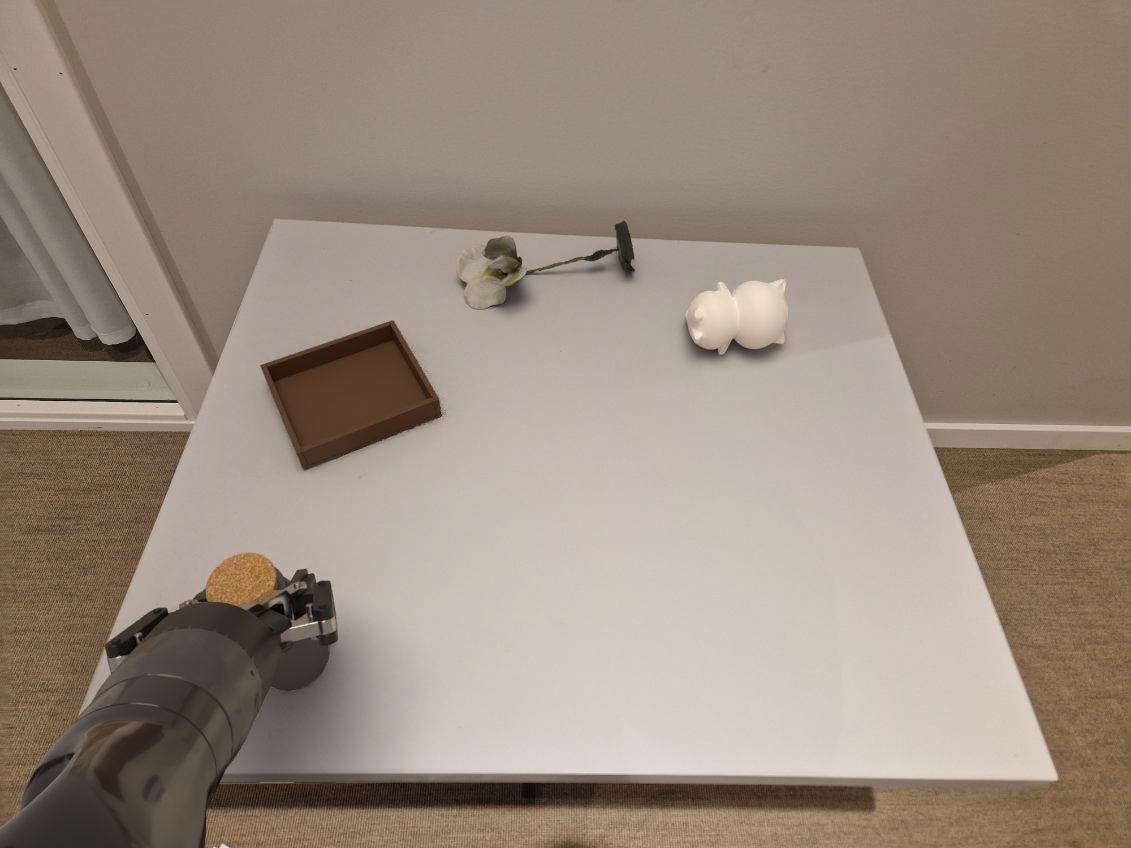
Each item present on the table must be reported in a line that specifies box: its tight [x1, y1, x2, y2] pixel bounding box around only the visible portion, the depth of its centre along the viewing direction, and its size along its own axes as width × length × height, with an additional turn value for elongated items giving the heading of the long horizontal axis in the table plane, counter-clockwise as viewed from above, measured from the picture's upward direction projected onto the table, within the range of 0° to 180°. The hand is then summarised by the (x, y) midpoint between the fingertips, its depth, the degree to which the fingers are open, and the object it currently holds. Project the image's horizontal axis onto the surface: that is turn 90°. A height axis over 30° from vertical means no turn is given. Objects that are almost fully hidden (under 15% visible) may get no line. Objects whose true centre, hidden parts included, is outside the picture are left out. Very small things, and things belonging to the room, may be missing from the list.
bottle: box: [205, 552, 330, 692], centre depth 57 cm, size 6×6×15 cm
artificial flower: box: [455, 220, 636, 310], centre depth 90 cm, size 9×22×10 cm, turn 102°
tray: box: [259, 319, 443, 471], centre depth 79 cm, size 15×13×3 cm
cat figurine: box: [684, 278, 789, 356], centre depth 86 cm, size 9×11×12 cm
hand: (261, 588), depth 55 cm, fingers closed on bottle, 5 cm apart
